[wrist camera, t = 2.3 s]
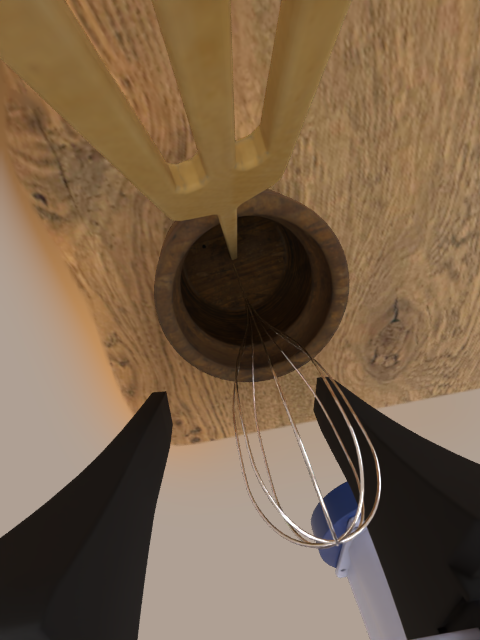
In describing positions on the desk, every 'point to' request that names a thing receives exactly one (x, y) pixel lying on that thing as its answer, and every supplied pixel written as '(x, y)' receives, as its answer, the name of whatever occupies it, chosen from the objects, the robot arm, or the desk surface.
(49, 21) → the utensil holder
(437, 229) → the desk surface
